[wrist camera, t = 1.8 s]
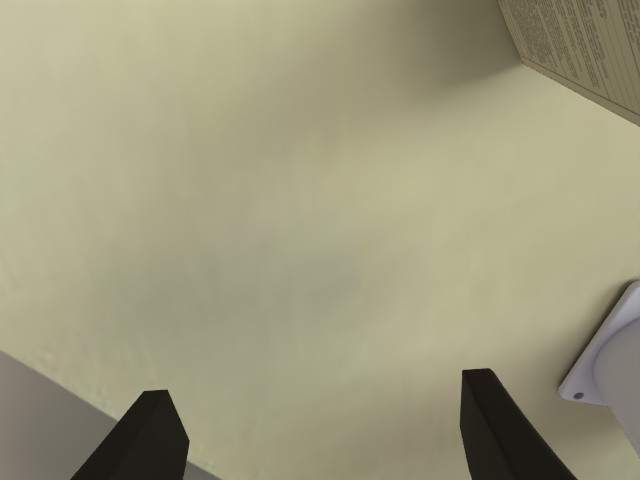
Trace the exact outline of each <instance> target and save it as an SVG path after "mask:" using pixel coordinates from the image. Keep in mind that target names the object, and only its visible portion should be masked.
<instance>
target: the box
mask: <svg viewBox="0 0 640 480" xmlns="http://www.w3.org/2000/svg"><path fill="white" fill-rule="evenodd" d="M497 1H498V3H499V6H500V8H501V11H502V13H503V16H504V19H505V21H506V24H507V26H508V29H509V31H510V34H511V36H512V38H513V41H514V43H515V45H516V48H517V50H518V52H519V55H520V57H521V60H522V62H523V64H525V65H526V66H528V67H530V68H532V69H534V70H536V71H538V72H539V73H541V74H543V75H545V76H547V77H549V78H550V79H552V80H554V81H556V82H558V83H560V84H562V85H563V86H565V87H567V88H569V89H571V90H572V91H574V92H576V93H578V94H580V95H582V96H583V97H585V98H587V99H589V100H591V101H593V102H595V103H597V104H598V105H600V106H602V107H604V108H606V109H608V110H610V111H611V112H613V113H615V114H617V115H619V116H621V117H623V118H624V119H626V120H628V121H630V122H632V123H634V124H636V125H637V126H639V127H640V0H497Z"/></svg>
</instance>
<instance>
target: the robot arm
mask: <svg viewBox="0 0 640 480" xmlns="http://www.w3.org/2000/svg"><path fill="white" fill-rule="evenodd" d="M558 393H559V395H560V397H561V398H562V399H564V400H569V401H575V402H582V403H588V404H594V405H600V406H607V407H609V408H610V410H611V412H612V413H613V415H614V416H615V418H616V420H617V421H618V423H619V425H620V426H621V428H622V430H623V431H624V433H625V435H626V436H627V438H628V440H629V441H630V443H631V445H632V446H633V448H634V449H635V451H636V453H637V454H638V456H639V458H640V281H636V282H634V283H632V284H631V285H630V286H629V287H628V288H627V289H626V291H625V292H624V294H623V295H622V297H621V298H620V300H619V301H618V302H617V304H616V305H615V307H614V308H613V310H612V311H611V313H610V314H609V316H608V317H607V318H606V320H605V321H604V323H603V324H602V326H601V327H600V329H599V330H598V331H597V333H596V334H595V336H594V337H593V339H592V340H591V342H590V343H589V345H588V346H587V347H586V349H585V350H584V352H583V353H582V355H581V356H580V358H579V359H578V361H577V362H576V363H575V365H574V366H573V368H572V369H571V371H570V372H569V374H568V375H567V377H566V378H565V379H564V381H563V382H562V384H561V385H560V387H559V388H558ZM460 430H461V434H462V439H463V444H464V449H465V453H466V458H467V463H468V467H469V471H470V474H471V478H472V480H578V479H577V478H576V477H575V476H574V475H573V474H572V473H571V472H570V470H569V469H568V468H567V467H566V466H565V465H564V463H563V462H562V461H561V460H560V459H559V458H558V456H557V455H556V454H555V453H554V452H553V450H552V449H551V448H550V447H549V446H548V444H547V443H546V442H545V441H544V439H543V438H542V437H541V436H540V435H539V433H538V432H537V431H536V430H535V428H534V427H533V426H532V424H531V423H530V422H529V421H528V419H527V418H526V417H525V415H524V414H523V413H522V411H521V410H520V409H519V407H518V406H517V405H516V403H515V402H514V401H513V399H512V398H511V396H510V395H509V394H508V392H507V391H506V389H505V388H504V387H503V385H502V384H501V382H500V381H499V379H498V378H497V376H496V375H495V373H494V372H493V371H492V370H491V369H489V368H486V369H471V370H463V371H462V391H461V412H460ZM189 442H190V441H189V438H188V436H187V434H186V432H185V429H184V427H183V425H182V422H181V420H180V418H179V415H178V413H177V411H176V408H175V406H174V404H173V401H172V399H171V397H170V394H169V392H168V390H153V391H144V392H143V393H142V394H141V395H140V396H139V398H138V399H137V400H136V401H135V402H134V404H133V405H132V406H131V407H130V408H129V410H128V411H127V412H126V413H125V415H124V416H123V417H122V418H121V419H120V421H119V422H118V423H117V424H116V426H115V427H114V428H113V429H112V431H111V432H110V433H109V434H108V435H107V437H106V438H105V439H104V440H103V442H102V443H101V444H100V445H99V446H98V448H97V449H96V450H95V451H94V452H93V453H92V455H91V456H90V457H89V458H88V459H87V461H86V462H85V463H84V464H83V465H82V466H81V468H80V469H79V470H78V471H77V472H76V473H75V475H74V476H73V477H72V478H71V480H183V476H184V471H185V466H186V460H187V454H188V448H189Z"/></svg>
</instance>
